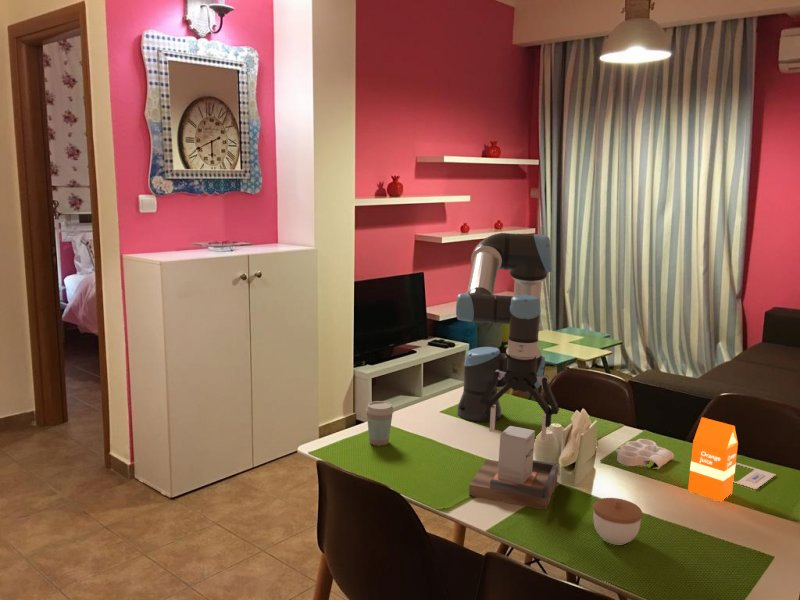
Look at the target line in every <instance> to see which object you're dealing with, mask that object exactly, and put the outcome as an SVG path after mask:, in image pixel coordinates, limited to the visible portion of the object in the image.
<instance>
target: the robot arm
mask: <svg viewBox="0 0 800 600" xmlns="http://www.w3.org/2000/svg"><path fill="white" fill-rule="evenodd" d="M550 239H551V238H550V237H549V236H548V235H543V234H537V233H509V232H508V233H507V232H499V233H494V234H491V235H490V236H487V237H485V238H484V239H482V240H481V241H480V242H479V243H477V245H476V246H475V247H474V248H473V251H472V252H471V257H470V264H471V266H472V267H471V271H470V276H469V280H468V281H469V282H468V286H467V291H466V292H465V293H464V292H463V293H459V294H458V295H457V297H456V307H455V316H456V319H457V320H458V321H463V322H468V323H469V322H470V323H473V322H474V323H487V324H488V323H490V324H491V323H492V324H503V325H504V324H505V325H508V326H509V327H508V330H509V331H508V339H507V340H508V342H507V345H508V346H507V348H506V350H505V353H503V352H501V350H500V348H498V347H494V346H482V347H481V346H480V347H475V348H472V349H469V350H468V351H467V352H466V353H465V356H464V363H463V366H464V373H463V374H464V377H463V391H462V395H461V396H460V400H459V402H458V405H457V412H456V414H457V415H458V416H459V417H460V418H462V419H465V420H467V421H473V422H484V423H485V422H486V423H487V422H489V432H494V430H495V427H496V421H498V420H499V419H501V417H502V406H501V403H500V400H499V399H500V398H501V397H503V396H504V395H505V394H506V393H507V392H508V391H509V390H510V389H511V390H512V391H515V392H517V391H519V392H523V393H526V392H528V393H529V394H530V395H531V396H532V398H534V401H536V403H537V404H538V406H539V407H540V408H541V410H542V411H543V413H542V423H541V438H540V439H541V440H545V438H546V437H547V428H550V427H551V424H552V415H558V413H559V411H560V408H559V404H558V402H557V400H556V398H555V396H554V394H553V391H552V388H551V386H550V384H549V376H548V375H544V372H545V371H544V370H545V364H546V357H545V356H544V355H542V351H541V349H540V348H539V331H540V318H541V311H542V310H541V295H542V294H541V292H542V282H543V281H545V280H546V278H548V274H549V273H551V272H552V271H553V266H552V265H553V264H552V263H553V262H552V248H551V247H552V246H551V240H550ZM499 270H505V271H509V272H510V273H509V275H510V277H511V278H512V279H513V280H514V281H513V282H514V285H513V286H514V287H513V295H497V294H495V288H496V282H497V274H498V271H499ZM541 386H542V389H543V392H544V394H545V396H546V399H547V400H546V399H545V398H544V397H543V395H541V393H540V392H539V390H538V389H539V388H540V387H541ZM499 388H501V389H500V390H499V391H498V389H499ZM547 401H548V403H547Z"/></svg>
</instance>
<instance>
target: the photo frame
mask: <svg viewBox="0 0 800 600" xmlns="http://www.w3.org/2000/svg"><path fill="white" fill-rule="evenodd" d="M738 465H740V466H739V467H741V466H743V467H742V468H745V467H747V468H746V469H748V468H750V469H749V470H751V469H753V470H752V471H750V472H749V473H747V474H746V475H745V476H743V477H742V478H741V479H739V480H738V481H735V480H734V481H733V482H734V483H737V484H740V485H744V486H747V487H750V488H753V489H758V488H759V487H760V486H762V485H763V484H764V483H766V482H767V481H768V480H770V479H771V478H773V477H774V476H775V477H776V475H777V473H772V472H769V471H767V470H762V469H759V468H756V467H754V466H750V465H746V464H743V463H739V462H737V461H736V466H738ZM775 477H774V478H775ZM774 478H773V479H774ZM771 480H772V479H771ZM771 480H770V481H771ZM767 483H768V482H767ZM767 483H766V484H767ZM763 486H764V485H763ZM763 486H762V487H763ZM759 489H760V488H759ZM759 489H758V490H759Z"/></svg>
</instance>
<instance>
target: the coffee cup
mask: <svg viewBox="0 0 800 600" xmlns="http://www.w3.org/2000/svg"><path fill="white" fill-rule="evenodd" d="M365 413H366V418H367V427H368V430H367V432H368V441H369V444H370V443H371V444H370V445H372V444H373V446H376V445H377V446H376V447H381V445H383V446H386V445H388V444H389V439H390V433H391V427H392V420H393V414H394V407H393V404H392V403H391V402H388V401H381V400H376V401H370V402H369V403H367V405H366V408H365ZM387 443H388V444H387Z"/></svg>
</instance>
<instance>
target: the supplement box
mask: <svg viewBox="0 0 800 600" xmlns="http://www.w3.org/2000/svg"><path fill="white" fill-rule="evenodd" d="M535 437H536V430H533V429H529V428H523V427H517V426H513V425H509V426H508V427H506V428H505V429H504V430H503V431H502V432H501V433H500V434H499V451H498V461H499V464H498V478H499V479H503V480H507V481H511V482H515V483H519V484H524V482H525V481H526V480H527V479H528V478H529V477H530V476H531V475H532V467H533V460H534V452H535Z"/></svg>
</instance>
